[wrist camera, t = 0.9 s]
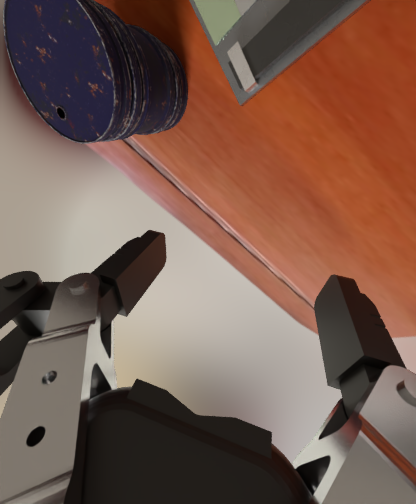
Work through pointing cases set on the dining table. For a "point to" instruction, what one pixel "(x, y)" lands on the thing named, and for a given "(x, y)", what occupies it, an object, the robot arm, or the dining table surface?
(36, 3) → the dark blue cylinder
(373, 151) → the dining table surface
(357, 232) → the dining table surface
